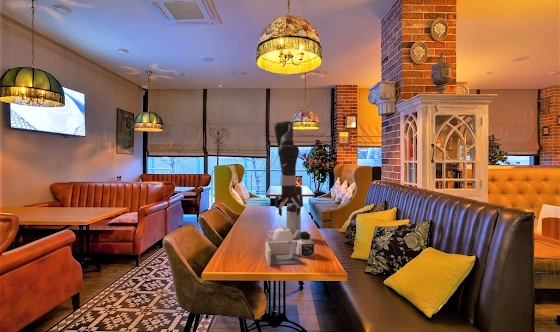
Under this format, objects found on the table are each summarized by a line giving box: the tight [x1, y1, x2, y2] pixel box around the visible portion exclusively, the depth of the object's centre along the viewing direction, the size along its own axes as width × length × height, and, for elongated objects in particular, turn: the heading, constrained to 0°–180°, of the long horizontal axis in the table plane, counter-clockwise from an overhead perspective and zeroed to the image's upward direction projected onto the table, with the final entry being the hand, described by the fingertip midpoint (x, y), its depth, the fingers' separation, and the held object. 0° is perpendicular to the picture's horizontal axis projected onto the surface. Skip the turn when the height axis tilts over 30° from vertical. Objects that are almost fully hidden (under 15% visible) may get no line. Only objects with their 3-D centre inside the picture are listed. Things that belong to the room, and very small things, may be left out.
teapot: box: [266, 225, 300, 242], centre depth 179 cm, size 20×12×10 cm, turn 89°
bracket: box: [276, 241, 293, 261], centre depth 148 cm, size 8×5×8 cm, turn 98°
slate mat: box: [271, 253, 302, 266], centre depth 148 cm, size 14×15×1 cm
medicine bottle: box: [296, 231, 315, 258], centre depth 156 cm, size 7×7×12 cm
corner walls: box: [264, 240, 297, 267], centre depth 149 cm, size 15×16×7 cm
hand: (289, 215), depth 151 cm, fingers open, 8 cm apart
